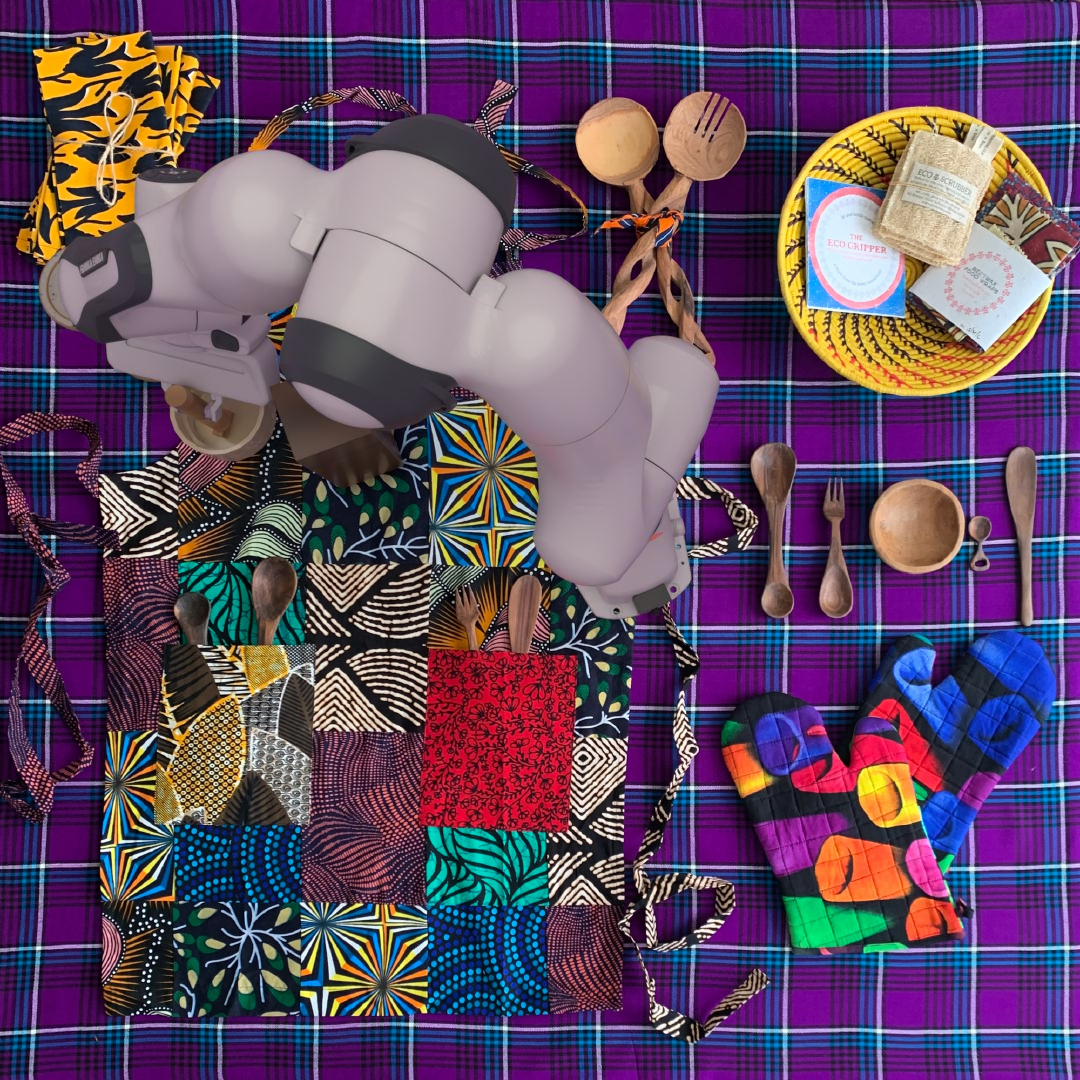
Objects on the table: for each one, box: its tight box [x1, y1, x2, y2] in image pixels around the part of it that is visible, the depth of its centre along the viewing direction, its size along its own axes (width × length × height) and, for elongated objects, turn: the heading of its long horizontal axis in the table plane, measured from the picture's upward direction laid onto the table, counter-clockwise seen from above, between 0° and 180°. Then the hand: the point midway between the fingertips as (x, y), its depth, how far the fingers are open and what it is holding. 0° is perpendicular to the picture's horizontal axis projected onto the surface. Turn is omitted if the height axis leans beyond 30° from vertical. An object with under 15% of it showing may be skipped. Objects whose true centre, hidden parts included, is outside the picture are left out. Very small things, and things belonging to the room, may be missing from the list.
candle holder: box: [38, 246, 161, 383], centre depth 114 cm, size 12×12×20 cm
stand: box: [269, 380, 405, 490], centre depth 112 cm, size 9×9×22 cm
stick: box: [164, 385, 234, 439], centre depth 113 cm, size 4×3×16 cm
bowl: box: [169, 387, 277, 462], centre depth 120 cm, size 12×12×6 cm
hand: (198, 414), depth 112 cm, fingers closed on stick, 2 cm apart
